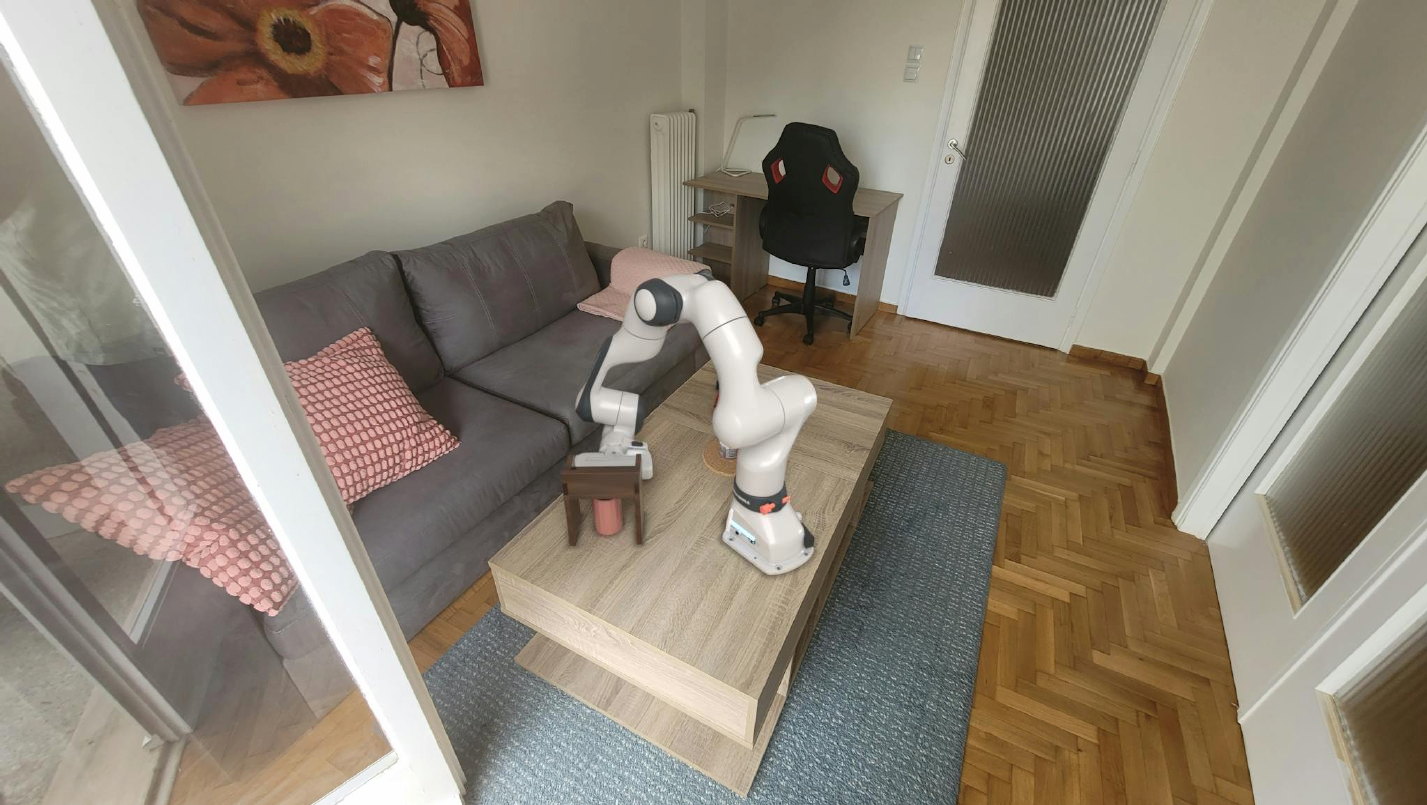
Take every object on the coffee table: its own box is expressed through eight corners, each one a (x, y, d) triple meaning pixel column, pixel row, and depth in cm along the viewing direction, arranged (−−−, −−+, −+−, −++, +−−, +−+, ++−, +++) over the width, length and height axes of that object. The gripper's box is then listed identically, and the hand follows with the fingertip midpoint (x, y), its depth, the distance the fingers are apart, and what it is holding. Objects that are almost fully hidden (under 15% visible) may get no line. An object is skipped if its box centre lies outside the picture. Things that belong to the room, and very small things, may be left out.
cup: (627, 528, 139) (625, 494, 134) (602, 539, 136) (598, 505, 131) (615, 512, 144) (613, 479, 138) (590, 521, 141) (586, 488, 135)
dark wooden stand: (576, 515, 143) (567, 445, 131) (644, 514, 144) (640, 444, 132) (570, 545, 134) (560, 473, 123) (642, 544, 135) (638, 472, 124)
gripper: (574, 443, 153) (566, 477, 141) (653, 443, 154) (651, 476, 143) (577, 462, 156) (569, 497, 145) (653, 461, 158) (652, 496, 146)
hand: (610, 487), depth 144 cm, fingers open, 8 cm apart
